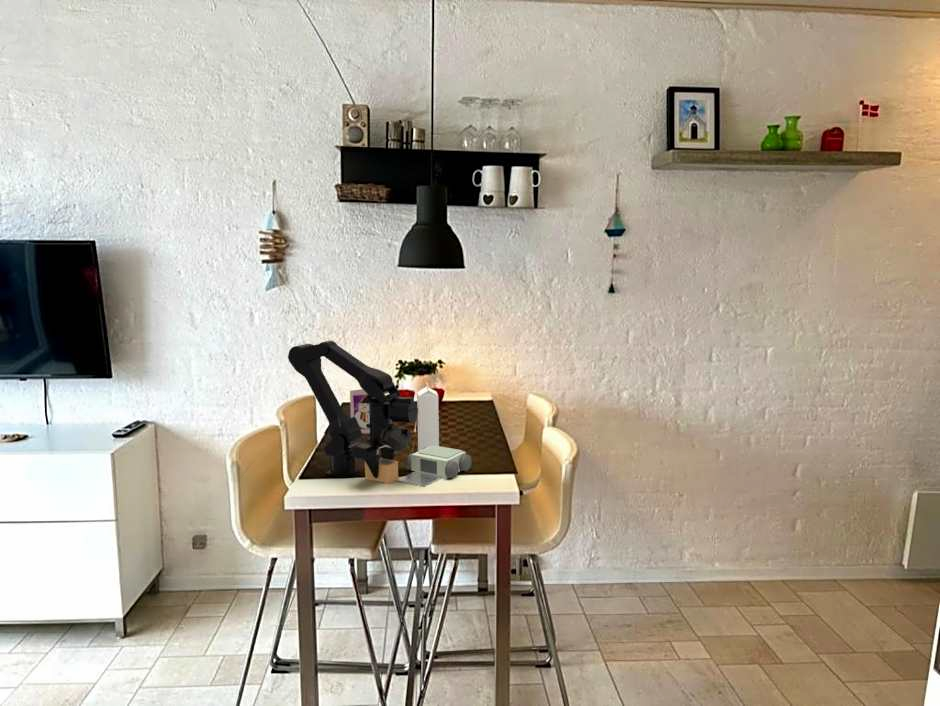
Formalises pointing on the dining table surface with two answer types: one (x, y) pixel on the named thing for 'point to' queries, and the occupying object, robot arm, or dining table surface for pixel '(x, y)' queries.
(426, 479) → the mounting plate
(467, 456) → the mower deck
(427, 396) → the milk
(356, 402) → the greeting card
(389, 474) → the block
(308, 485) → the dining table surface
